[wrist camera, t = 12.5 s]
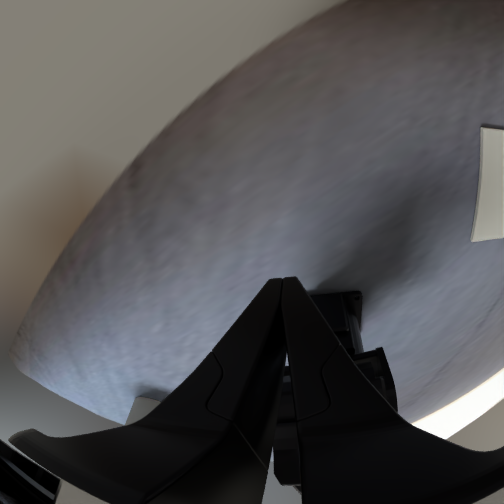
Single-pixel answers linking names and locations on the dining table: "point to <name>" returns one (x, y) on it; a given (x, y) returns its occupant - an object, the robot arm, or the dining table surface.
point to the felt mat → (490, 187)
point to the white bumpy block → (141, 409)
